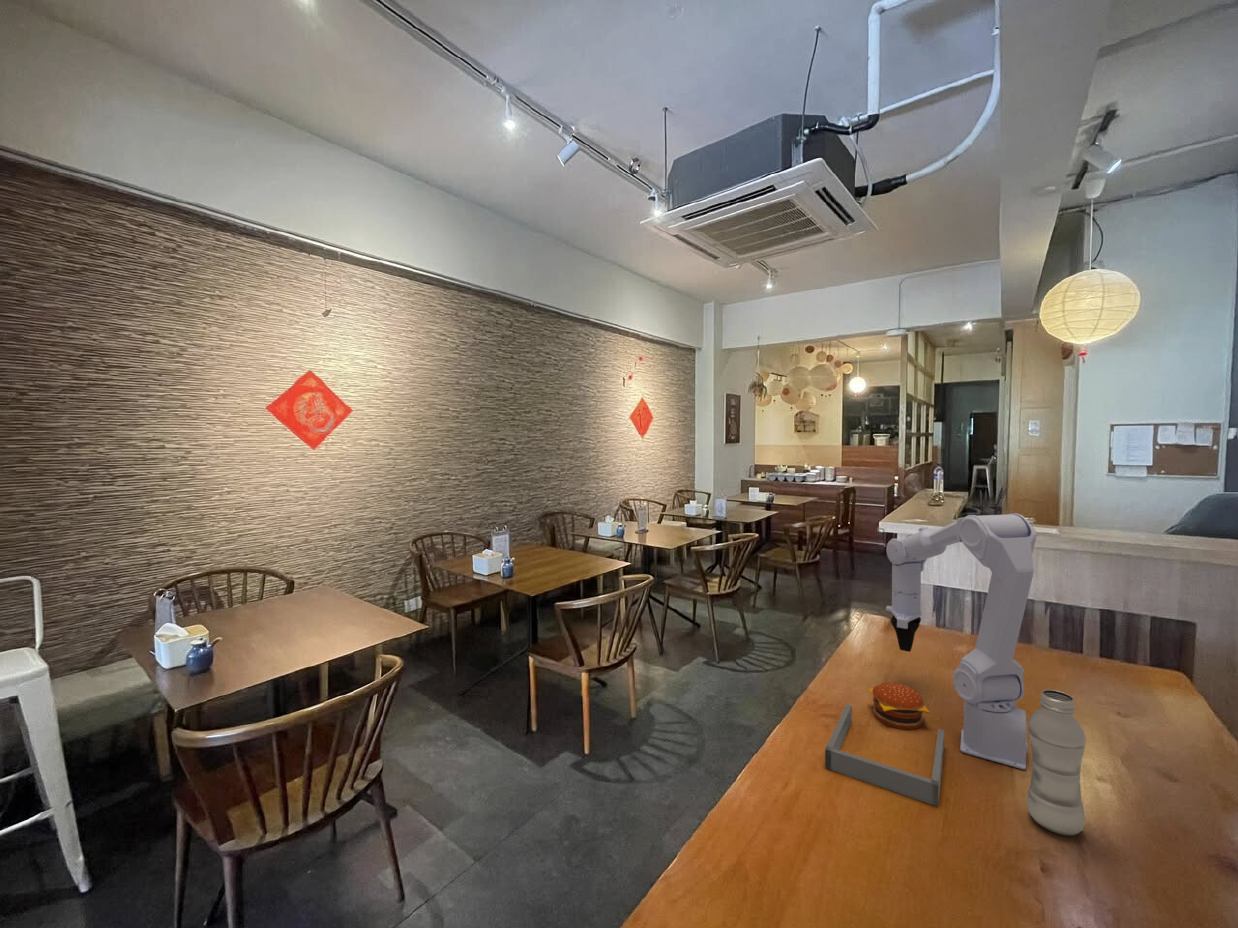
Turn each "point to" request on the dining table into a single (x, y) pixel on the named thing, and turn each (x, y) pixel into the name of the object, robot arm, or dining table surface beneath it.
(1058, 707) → the plastic bottle
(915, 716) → the hamburger
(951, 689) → the dining table surface
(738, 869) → the dining table surface
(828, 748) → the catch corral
